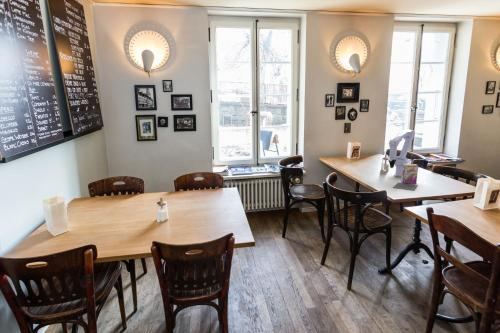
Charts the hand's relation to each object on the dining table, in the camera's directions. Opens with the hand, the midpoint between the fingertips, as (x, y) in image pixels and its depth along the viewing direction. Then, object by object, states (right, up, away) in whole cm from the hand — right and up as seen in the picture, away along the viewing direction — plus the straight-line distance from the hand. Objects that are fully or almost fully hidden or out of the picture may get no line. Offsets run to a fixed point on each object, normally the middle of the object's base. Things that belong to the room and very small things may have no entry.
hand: (391, 167), depth 289 cm
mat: (+2, -16, -22) cm, 27 cm away
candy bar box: (+10, -14, -12) cm, 20 cm away
